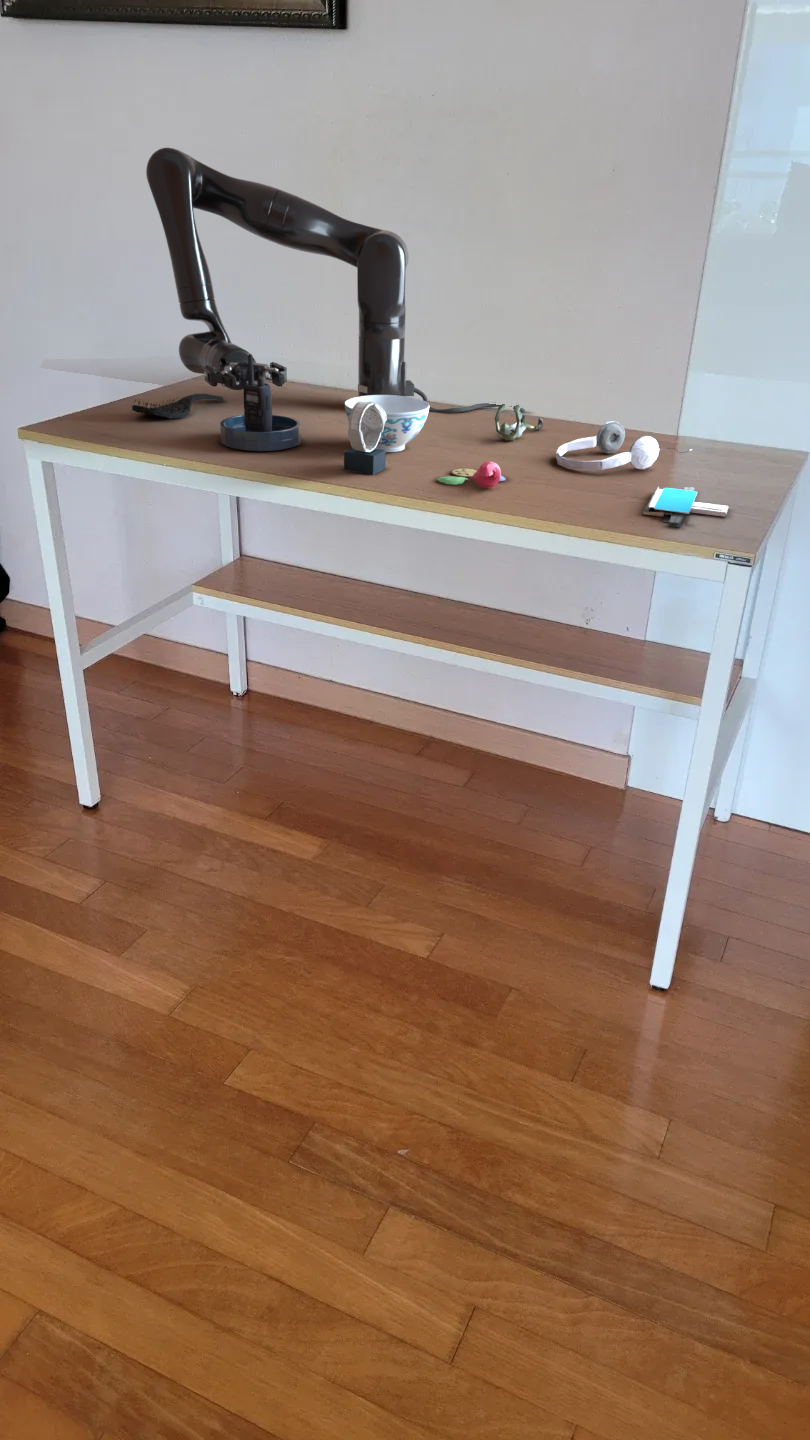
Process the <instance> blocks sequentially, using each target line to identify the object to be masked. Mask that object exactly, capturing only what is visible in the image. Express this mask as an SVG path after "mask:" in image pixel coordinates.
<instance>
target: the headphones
mask: <svg viewBox="0 0 810 1440" xmlns="http://www.w3.org/2000/svg"><path fill="white" fill-rule="evenodd" d="M625 437H626V431H625V428H624V427H623V425H622V424H621V423H619V422H618V421H607V422H606V423H605V424H603V425H602V426H601V427H600V429H598V432H597V433H596V435H594V436H589V437H581V438H578V439H575V440H571V441H569V442H566V443H563V444H562V445H560V446H558V449H557V450H556V453H555V457H556V462H557V465H558V466H561V467H564V468H567V469H569V470H582V471H583V470H584V471H586V470H589V471H603V470H606V469H613V468H618V467H619V466H624V465H626V464H628V463H630V465H631V467H633V468H635V469H636V470H645V469H647V468H650V467H652V466H653V464H654V463H655V462H656V461H657V458H658V457H659V453H660V450H661V448H659V443H658V441H657V440H656V438H654V437H653V436H649V435H644V436H639V437H638V438H637V439H636V440H635V441H634V442H633V443H632V445H631V446H630V447H629V451H626V452H625V451H624V452H620V453H617V454H615V455H611V456H610V457H607V458H605V459H600V460H599V459H598V460H576V459H569V458H566V457H564V456H563V455H565V454H566V453H567V452H572V451H578V450H584V449H591V448H595V447H597V448H598V449H599V451H600V452H602V453H604V454H612V453H614V452H617V451H618V450H619V449H620V448H621V446H623V444H624V441H625ZM665 449H667V450H669V449H670V450H675V451H676V452H677V453H678V454H685V453H688V452H691V451H692V450H693V449H692V448H690V449H688V450H687V451H681V452H680V451H678V450H677V449H676V448H675V447H674V448H673V447H663V448H662V450H665Z"/></svg>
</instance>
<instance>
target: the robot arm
mask: <svg viewBox="0 0 810 1440" xmlns="http://www.w3.org/2000/svg"><path fill="white" fill-rule="evenodd" d="M145 175H146V180H147V183H148V186H149V189H150V192H151V194H152V195H151V196H152V197H153V200H154V203H155V207H156V209H157V212H158V215H159V218H160V222H161V224H162V228H163V231H164V235H165V239H166V244H167V247H168V252H169V257H170V261H171V268H172V270H173V271H172V273H173V278H174V284H175V288H176V293H177V298H178V303H179V309H180V314H181V317H182V318H183V319H184V320H186V321H195V322H196V321H197V322H202V323H204V324H205V325H206V326H207V328H208V330H209V331H204V332H203V331H202V332H196V333H189V334H187V335H184V337H182V338H181V340H180V342H179V345H178V355H179V358H180V361H181V363H182V364H183V366H184V368H186V369H187V370H188V371H189V372H192V373H194V374H200V375H204V381H205V382H206V383H207V384H208V385H209V386H210V387H214V388H215V387H218V384H220V385H221V387H225V388H227V389H229V390H232V391H243V389H244V386H245V385H246V384H248V355H249V354H251V353H250V352H249V351H248V350H246V349H244V348H242V347H240V346H238V345H236V344H235V343H232V340H231V338H230V337H229V334H228V332H227V330H226V327H225V326H224V324H223V322H222V319H221V316H220V313H219V311H218V307H217V304H216V303H217V302H216V298H215V292H214V287H213V281H212V277H211V276H212V275H211V272H210V268H209V265H208V262H207V261H208V260H207V258H206V255H205V253H204V250H203V245H202V243H201V241H200V237H199V233H198V229H197V224H196V219H195V213H194V209H196V210H200V211H204V212H208V213H212V214H214V215H217V216H219V217H222V218H223V219H226V220H227V221H229V222H231V223H233V224H234V225H237V226H238V227H240V228H241V229H243V230H245V231H246V232H249V233H250V234H253V235H254V236H257V237H259V238H261V239H264V240H267V241H269V242H271V243H274V244H277V245H280V246H282V247H285V248H288V249H292V250H295V251H299V252H304V253H308V254H309V253H310V254H315V255H320V256H326V257H330V258H334V259H337V260H340V261H342V262H344V263H346V264H349V265H351V266H353V267H355V268H356V270H357V272H356V274H357V275H356V276H357V277H356V278H357V280H356V281H357V283H356V284H357V285H356V286H357V288H356V289H357V308H358V360H357V361H358V363H357V364H358V366H357V367H358V373H357V377H358V378H357V397H360V396H369V395H395V396H405V397H415V394H416V395H418V396H420V397H421V398H422V400H423V401H426V402H427V403H428V401H429V400H428V397H427V395H426V394H425V392H423V391H422V390H420V389H419V388H416V387H415V383H413V382H412V380H409V379H407V363H406V361H405V347H406V345H405V343H406V318H407V317H406V315H407V314H406V313H407V312H406V311H407V307H406V270H407V267H408V264H409V250H408V247H407V245H406V243H405V241H404V240H403V238H402V237H401V236H400V235H398V234H397V233H395V232H393V231H390V230H386V229H381V228H377V227H373V226H368V225H366V224H362V223H359V222H355V221H352V220H349V219H346V218H343V217H341V216H340V215H337V214H335V213H333V212H331V211H330V210H328V209H326V208H324V207H322V206H319V204H316V203H313V202H311V201H309V200H307V199H304V198H302V197H300V196H298V195H295V194H292V193H290V192H287V191H285V190H282V189H279V188H277V187H274V186H271V185H267V184H264V183H260V182H256V181H251V180H246V179H241V178H237V177H233V176H230V175H227V174H226V173H223V172H221V171H218V170H217V169H215V168H213V167H210V166H208V165H206V164H205V163H203V162H201V161H200V160H197V159H195V158H194V157H192V156H191V155H190V154H187V153H185V152H183V151H181V150H179V149H177V148H174V147H162V148H159V149H157V150H155V151H154V152H153V153H152V154H151V155H150V157H149V158H148V162H147V164H146V171H145ZM253 369H254V383H255V384H257V382H258V378H259V377H262V378H264V383H265V384H273V385H274V386H276V387H280V388H281V387H283V385H285V383H287V382H288V377H287V371H288V370H287V369H288V368H287V366H284V365H282V364H280V363H277V362H274V361H271V362H270V363H269V364H268V363H260V362H257V361H256V360H255V358H254V357H253ZM489 403H490V402H486V403H485V402H484V403H483V402H482V403H481V402H480V403H476V404H472V405H469V406H464V407H463V406H462V407H451V408H443V409H441V408H440V409H438V408H435V407H432V406H430V407H429V412H432V413H440V414H455V413H465V412H466V413H467V412H470V411H473V410H477V409H486V408H487V409H488V408H498V407H499V406H500V405H496V404H489ZM428 404H429V403H428ZM510 407H512V406H510ZM512 408H513V407H512ZM518 412H521V413H522V414H527V413H528V412H527V410H526V409H525V408H524V407H522V408H520V410H519V411H518ZM521 413H520V414H521Z"/></svg>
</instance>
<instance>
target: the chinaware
mask: <svg viewBox="0 0 810 1440" xmlns="http://www.w3.org/2000/svg"><path fill="white" fill-rule="evenodd" d="M360 401H361V402H367V401H369V402H374V403H376V404H378V405H379V406H380V407H382V408H383V410H384V411H385V413H386V416H387V420H386V422H385V424H384V429H383V432H382V433H381V435H380V439H379V441H378V444H377V446H376V448H375V449H380V450H385V453H396V452H401V451H404V450H405V449H406V444H407V443H410V441H412V440H413V439H415V437H416V436H417V435H418V434H420V432H421V431H422V429H423V428H424V426H425V423H426V421H427V418H428V416H429V412H430V411H429V407H431V406H430V403H427V402H426V401H423V399H421V398H416V397H413V396H395V395H369V396H360V397H358V396H355V397H351V398H348V399H346V400H345V401H344V410H345V414H346V418H347V420H348V421H349V419H350V414H351V411H352V409H353V407H354V405H355V404H356V403H357V402H360ZM354 425H356V424H354ZM360 430H361V431H362V434H363V439H364V442H365V440H366V438H367V434H368V430H365V427H364V425H363V423H362V422H361V426H360ZM376 438H377V437H376Z"/></svg>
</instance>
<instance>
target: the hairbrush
mask: <svg viewBox="0 0 810 1440" xmlns="http://www.w3.org/2000/svg"><path fill="white" fill-rule="evenodd" d="M175 400H176V401H175ZM203 400H214V401H215V400H216V401H221V402H222V401H224V396H221V395H215V394H209V393H203V392H202V393H194V394H189V395H187V396H184V397H181V398H180V397H176V399H175V398H174V399H172V400H171V398H169V399H166V402H165V401H164V400H163V401H161V400H160V401H159V403H157V405H156V403H153V402H150V403H149V401H147V402H146V401H139V400H138V399H135V400H134V403H135V404H133V405H131V411H133V412H135V413H138V414H143V415H144V414H145V415H151V416H156V417H161V418H167V419H184V418H186V417H187V416H189V414H190V412H191V408H192V406H193V403H194V402H198V401H203ZM161 402H162V404H161ZM167 402H168V403H167Z"/></svg>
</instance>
